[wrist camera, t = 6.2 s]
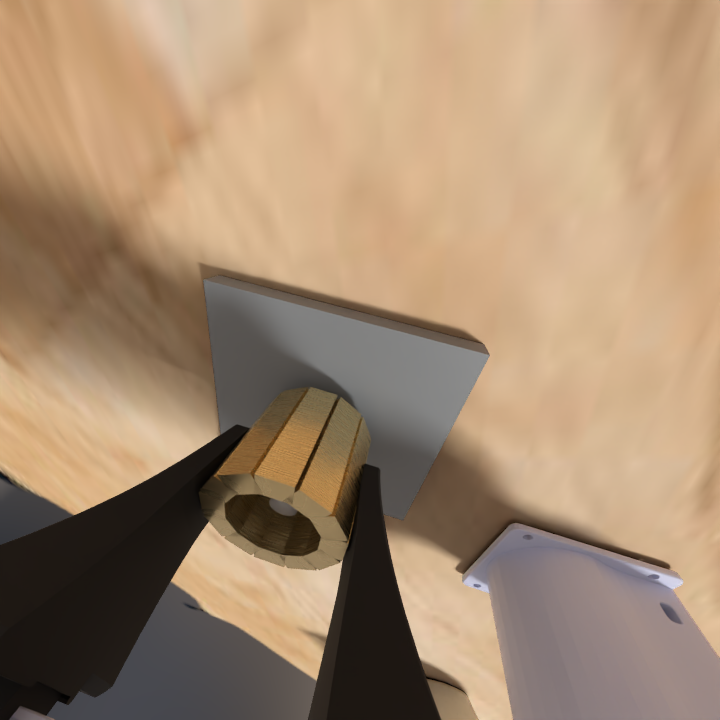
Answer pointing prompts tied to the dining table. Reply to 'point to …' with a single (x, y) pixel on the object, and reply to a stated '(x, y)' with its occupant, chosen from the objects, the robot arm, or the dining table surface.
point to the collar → (292, 481)
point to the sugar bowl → (451, 702)
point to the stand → (342, 374)
